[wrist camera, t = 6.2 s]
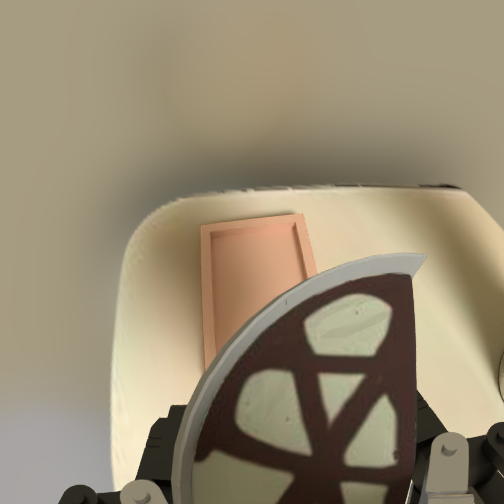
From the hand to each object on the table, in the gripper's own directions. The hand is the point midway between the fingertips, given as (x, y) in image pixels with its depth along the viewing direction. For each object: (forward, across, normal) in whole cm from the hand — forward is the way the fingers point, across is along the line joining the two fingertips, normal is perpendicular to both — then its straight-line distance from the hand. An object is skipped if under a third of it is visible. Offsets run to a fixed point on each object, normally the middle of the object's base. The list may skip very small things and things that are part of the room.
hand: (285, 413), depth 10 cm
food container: (+2, 0, +5) cm, 5 cm away
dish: (+19, 0, +3) cm, 19 cm away
